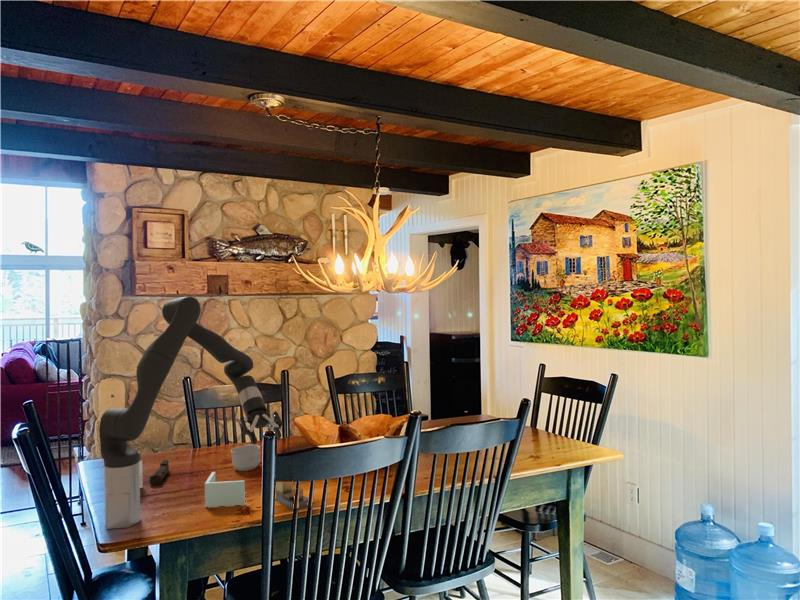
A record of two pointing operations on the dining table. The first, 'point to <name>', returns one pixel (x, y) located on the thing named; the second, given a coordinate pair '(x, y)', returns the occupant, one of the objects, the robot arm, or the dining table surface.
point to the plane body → (292, 499)
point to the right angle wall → (224, 492)
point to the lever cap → (284, 487)
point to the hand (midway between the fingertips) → (267, 440)
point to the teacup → (245, 457)
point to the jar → (140, 470)
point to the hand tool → (159, 473)
